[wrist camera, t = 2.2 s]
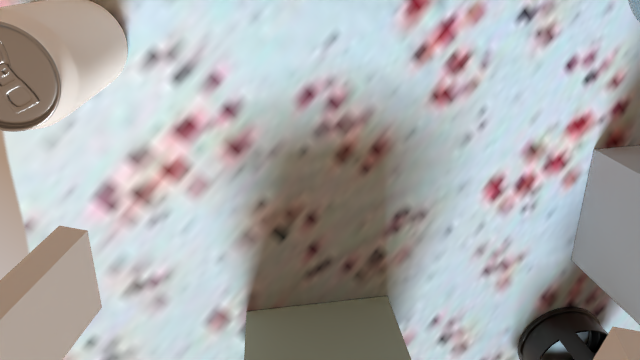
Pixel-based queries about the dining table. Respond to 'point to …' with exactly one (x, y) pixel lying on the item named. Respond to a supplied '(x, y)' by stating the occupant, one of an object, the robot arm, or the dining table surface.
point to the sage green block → (326, 332)
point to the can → (55, 59)
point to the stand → (612, 226)
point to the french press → (562, 334)
